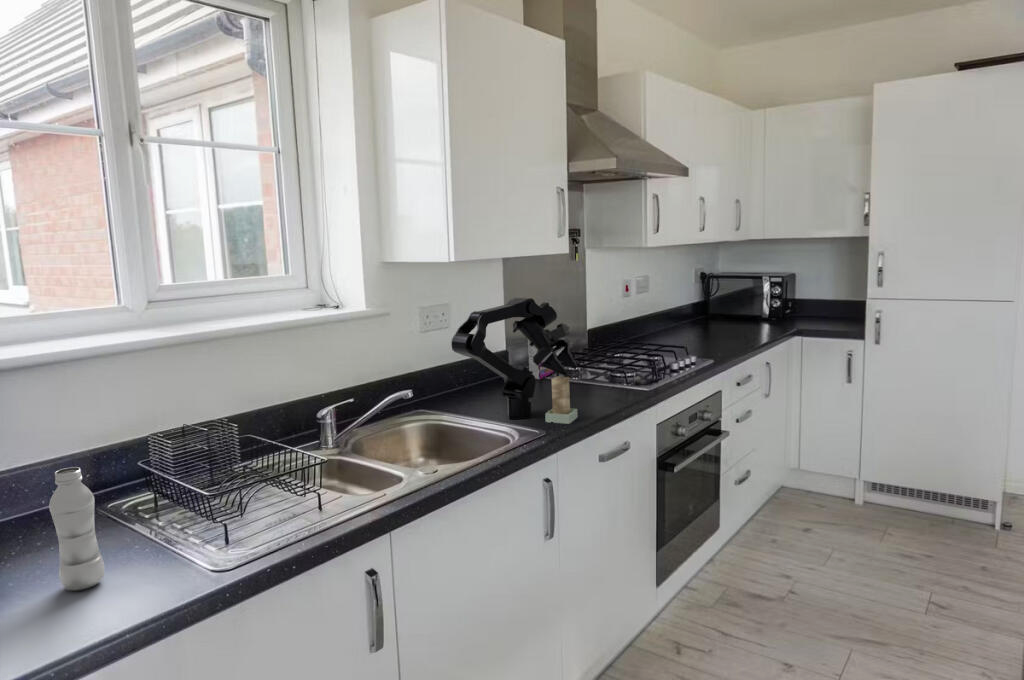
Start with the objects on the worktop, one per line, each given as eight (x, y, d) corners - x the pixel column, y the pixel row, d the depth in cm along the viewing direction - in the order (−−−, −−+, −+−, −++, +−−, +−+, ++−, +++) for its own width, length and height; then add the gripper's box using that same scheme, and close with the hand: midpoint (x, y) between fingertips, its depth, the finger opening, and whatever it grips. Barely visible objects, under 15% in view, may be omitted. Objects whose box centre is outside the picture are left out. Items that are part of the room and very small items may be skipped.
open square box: (545, 422, 205) (545, 413, 205) (554, 415, 212) (554, 407, 212) (569, 423, 202) (569, 415, 202) (577, 417, 209) (577, 408, 209)
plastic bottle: (68, 600, 112) (51, 480, 109) (55, 587, 116) (38, 472, 114) (112, 584, 117) (96, 469, 114) (98, 572, 121) (82, 461, 118)
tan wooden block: (553, 419, 206) (551, 379, 204) (557, 415, 210) (556, 376, 208) (565, 419, 204) (564, 379, 203) (570, 416, 208) (569, 377, 206)
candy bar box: (543, 373, 278) (541, 332, 275) (554, 374, 275) (552, 333, 272) (528, 378, 268) (526, 336, 266) (539, 379, 266) (538, 337, 263)
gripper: (541, 319, 201) (579, 358, 198) (563, 312, 218) (598, 347, 215) (517, 346, 206) (553, 384, 203) (540, 336, 223) (574, 371, 220)
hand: (571, 371), depth 210 cm, fingers open, 9 cm apart
